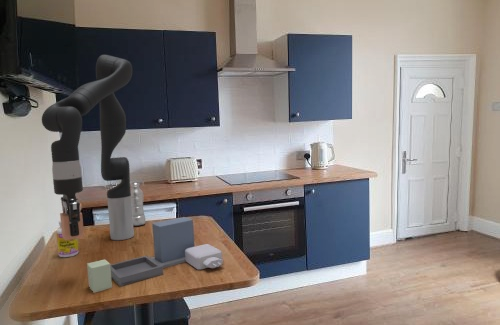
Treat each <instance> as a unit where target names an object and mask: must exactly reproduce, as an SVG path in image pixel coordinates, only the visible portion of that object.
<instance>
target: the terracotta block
mask: <svg viewBox="0 0 500 325" xmlns="http://www.w3.org/2000/svg"><path fill="white" fill-rule="evenodd" d="M69 213H70V212H69ZM59 216H60V218H59V219H60V220H61V229H62V237H63V238H64V239H65V241H66V240H71V239H76V238H78V239H79V238H85V232H84V220H83V213H82V212H81V211H80V221H79V222H78V227H79V235H78V236H71V235H70V225H69V219H68V216H66V213H63V212H61V213H59ZM72 218H76V215H73V216H72Z"/></svg>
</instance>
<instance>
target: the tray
mask: <svg viewBox="0 0 500 325" xmlns="http://www.w3.org/2000/svg"><path fill="white" fill-rule="evenodd" d="M150 257H151V256H150ZM150 257H149V256H148V255H143V256H139V257H134V258H131V259H127V260H123V261H119V262H116V263H110V269H111V280H113V281H114V282H115V283H116V284H117V285H118V286H119V287H120V288H121V287H123V286H127V285H131V284H133V283H137V282H141V281H145V280H148V279H151V278H155V277H159V276H162V275H164V268H163V266H162V265H160V264H159V263H157V262H156V261H154V260H153V259H151V258H150Z"/></svg>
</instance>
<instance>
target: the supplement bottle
mask: <svg viewBox="0 0 500 325" xmlns="http://www.w3.org/2000/svg"><path fill="white" fill-rule="evenodd" d="M58 225H59V227H58V228H57V229H56V238H57V239H56V240H57V252H58V257H60V258H71V257H74V256H76V255H78V254H79V238H76V239H71V240H66V241H65V239H64V238H63V237H62V229H61V219H60V220H59V221H58Z"/></svg>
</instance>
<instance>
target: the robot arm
mask: <svg viewBox="0 0 500 325" xmlns="http://www.w3.org/2000/svg"><path fill="white" fill-rule="evenodd" d="M132 77H133V65H132V63H131V62H130V61H129V60H127V59H125V58H121V57H118V56H117V57H116V56H113V55H109V54H100V56H99V57H97V61H96V64H95V78H96V80H93V81H90V82H87V83H85V84H82V85H80V86H79V87H78V88H76V89H75V90H74V91H73V92H72V93H71V94H69V95H68V96H67V97H65V98H63V99H61V100H59V101H57V102H55V103H53V104H51V105H50V106H48V107H47V108H46V109H45V110H44V111H43V113H42V116H41V125H42V126H43V128H44V129H46V130H47V131H50V132H51V133H61V136H60V139H57V140H55V141H53V142H52V143H51V145H50V152H51V160H52V164H51V166H52V168H51V169H52V170H51V172H52V173H51V174H52V183H53V192H54V194H56V195H59V196H60V195H62V196H61V197H60V203H61V208H62V210H61V211H62V213H66V216H68V219H69V225H70V235H71V236H78V235H79V227H78V222H79V221H80V212H81V211H80V208H81V207H80V201H79V198H77V196H76V194H77V193H78V194H79V193H81V192H83V190H84V189H83V188H84V187H83V185H84V184H83V175H82V166H81V162H80V153H79V152H80V150H79V144H80V139H81V138H80V137H81V133H82V128H83V116H86V115H87V114H89V113H90V111H91V110H93V108H94V107H96V106H97V104H99V128H100V131H99V132H100V141H101V142H100V144H101V147H100V148H101V150H100V151H101V153H100V154H101V155H100V174H101V175H100V176H101V178H102V179H103V181H107V182H109V181H111V182H112V181H120V180H121V181H120V183H118V184H117V185H116V186H114V187H112V188H109V189H108V190H107V191H106V197H107V210H108V211H107V212H108V221H109V222H108V223H109V234H110V239H111V240H112V241H122V240H123V241H124V240H128V239H130V238H133V237H134V236H135V232H134V231H135V230H134V229H135V228H134V225H133V216H132V204H131V180H130V178H131V177H130V176H131V175H130V174H131V173H130V171H131V170H130V162H129V159H128V158H127V157H125V156H120V157H119V156H118V157H112V155H113V153H114V150H115V149H116V147H117V146H118V144H119V143H120V142H121V141H122V139H123V138H124V136H125V134H126V131H127V119H126V118H127V116H126V113H125V111H124V109H123V107H122V105H121V104H120V102H119V100H118V98H117V97H116V95H115V92H117V91H118V90H120V89H122V88H123V87H125V86H126V85H128V83H129V82H130V81H131V79H132ZM69 212H70V213H69ZM73 215H76V218H72V216H73Z"/></svg>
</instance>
